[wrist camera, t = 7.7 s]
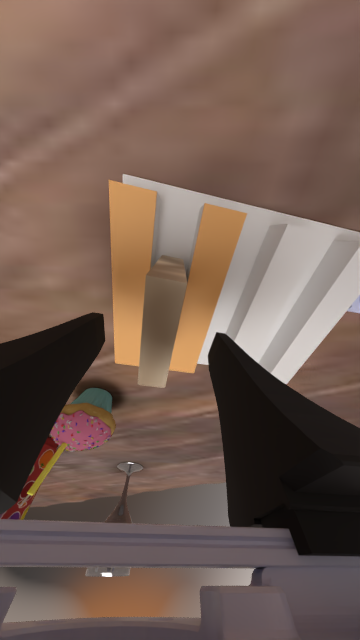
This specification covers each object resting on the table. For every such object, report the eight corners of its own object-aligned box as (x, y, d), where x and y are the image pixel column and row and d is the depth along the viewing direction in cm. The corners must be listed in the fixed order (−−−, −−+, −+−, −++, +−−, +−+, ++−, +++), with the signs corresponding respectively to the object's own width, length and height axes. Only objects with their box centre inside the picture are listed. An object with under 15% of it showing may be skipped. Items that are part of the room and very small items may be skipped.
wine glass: (141, 474, 44) (124, 576, 31) (113, 470, 42) (83, 576, 29) (148, 463, 40) (133, 575, 27) (117, 459, 39) (86, 575, 26)
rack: (363, 235, 14) (411, 235, 11) (270, 370, 23) (283, 390, 20) (125, 176, 12) (107, 157, 9) (124, 350, 20) (115, 369, 18)
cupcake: (73, 406, 27) (5, 515, 16) (69, 374, 23) (-22, 492, 12) (121, 413, 28) (88, 519, 18) (127, 384, 24) (87, 499, 14)
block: (183, 259, 14) (187, 283, 7) (170, 328, 18) (164, 388, 11) (162, 254, 14) (145, 275, 7) (153, 326, 18) (137, 384, 11)
